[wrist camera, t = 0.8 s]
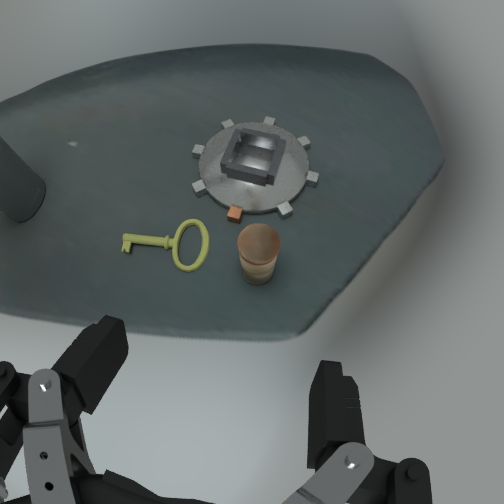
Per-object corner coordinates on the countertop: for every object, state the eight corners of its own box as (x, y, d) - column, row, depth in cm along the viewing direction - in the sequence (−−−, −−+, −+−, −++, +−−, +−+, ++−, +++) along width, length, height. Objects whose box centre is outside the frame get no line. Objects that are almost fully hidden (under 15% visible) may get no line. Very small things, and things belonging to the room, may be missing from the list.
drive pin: (237, 280, 38) (231, 256, 29) (247, 251, 39) (244, 218, 30) (268, 289, 38) (273, 268, 28) (277, 259, 39) (284, 229, 29)
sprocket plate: (171, 205, 42) (163, 191, 38) (216, 113, 47) (214, 96, 44) (301, 241, 40) (306, 229, 36) (326, 137, 45) (330, 121, 42)
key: (124, 238, 40) (119, 233, 38) (206, 219, 41) (203, 212, 39) (129, 286, 38) (123, 283, 36) (215, 267, 39) (213, 262, 37)
